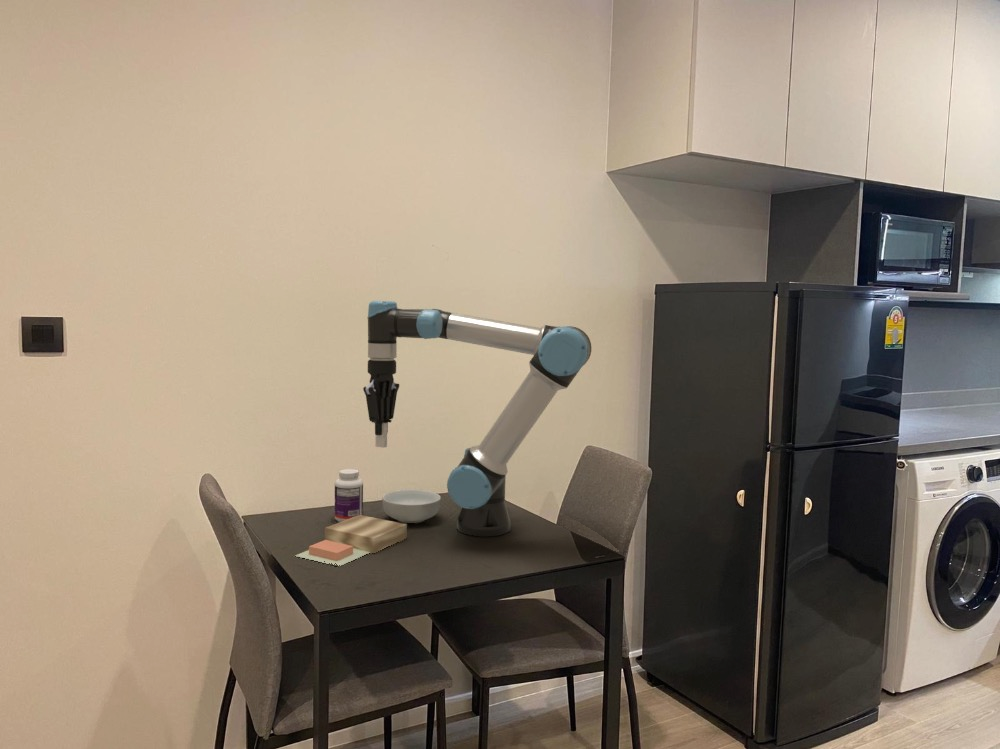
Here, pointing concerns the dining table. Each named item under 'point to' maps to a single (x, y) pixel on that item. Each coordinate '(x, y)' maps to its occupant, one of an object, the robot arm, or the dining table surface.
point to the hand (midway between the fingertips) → (381, 446)
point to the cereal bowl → (411, 505)
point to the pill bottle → (348, 495)
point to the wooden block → (366, 533)
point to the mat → (356, 554)
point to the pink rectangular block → (331, 550)
